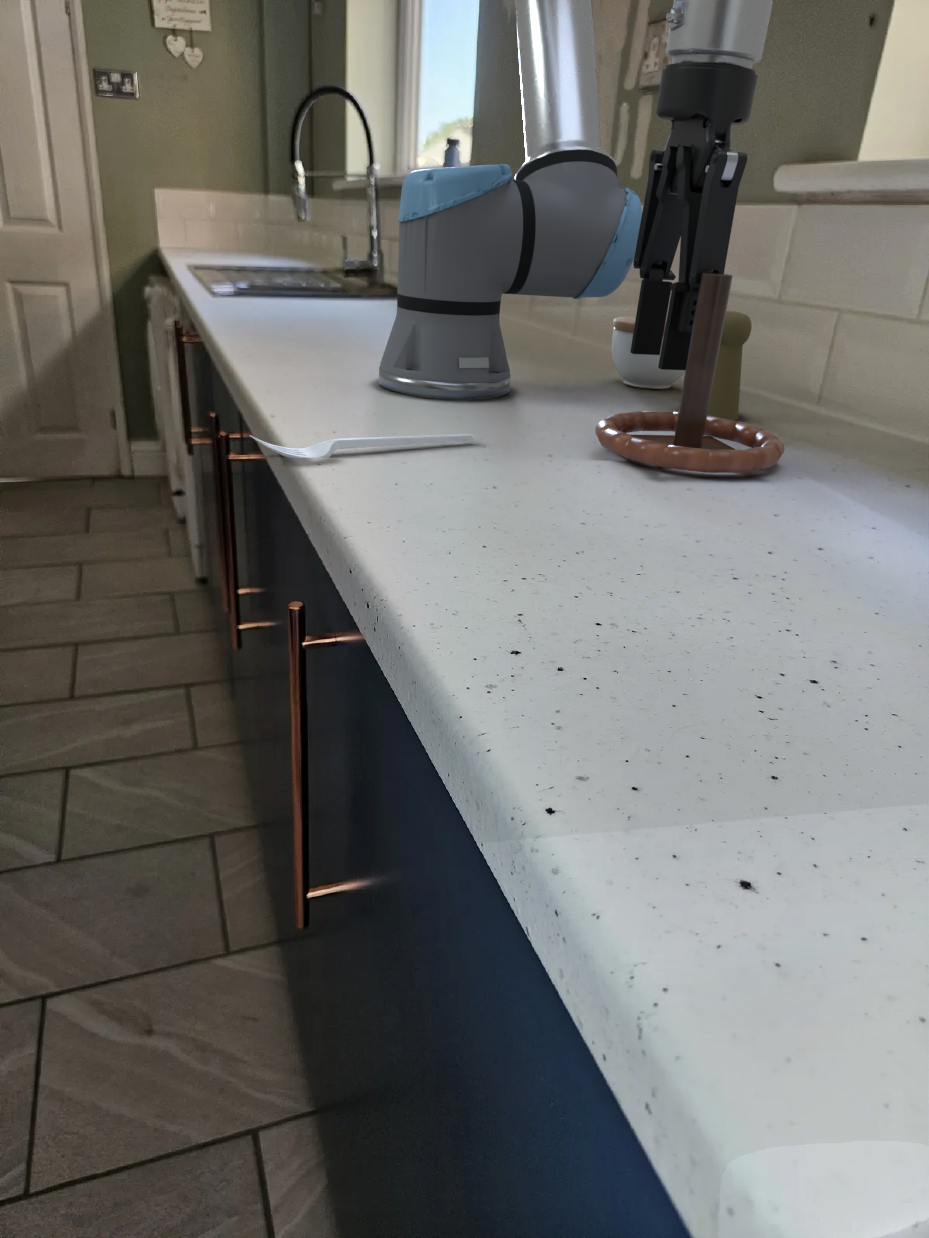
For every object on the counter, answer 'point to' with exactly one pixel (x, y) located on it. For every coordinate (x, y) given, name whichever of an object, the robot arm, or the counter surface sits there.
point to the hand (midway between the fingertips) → (659, 360)
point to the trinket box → (638, 360)
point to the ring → (686, 458)
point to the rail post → (700, 367)
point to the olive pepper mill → (729, 366)
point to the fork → (361, 444)
